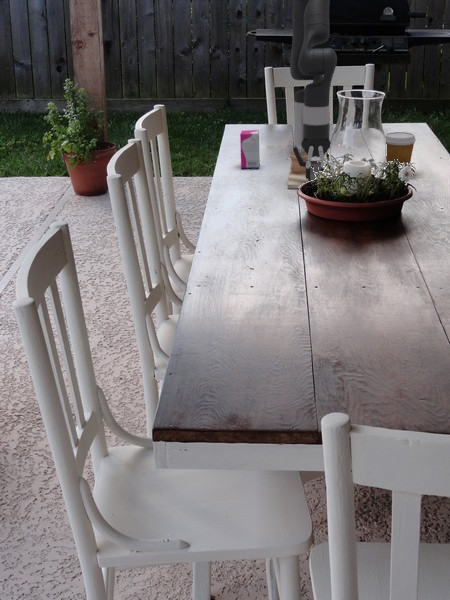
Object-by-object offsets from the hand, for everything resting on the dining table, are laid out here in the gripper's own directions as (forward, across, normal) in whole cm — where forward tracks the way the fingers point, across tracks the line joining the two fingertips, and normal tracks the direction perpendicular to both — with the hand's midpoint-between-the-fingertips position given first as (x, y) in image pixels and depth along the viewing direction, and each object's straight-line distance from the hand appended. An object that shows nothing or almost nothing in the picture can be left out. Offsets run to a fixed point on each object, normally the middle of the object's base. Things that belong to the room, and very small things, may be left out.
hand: (315, 179), depth 234 cm
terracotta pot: (+1, +5, -12) cm, 13 cm away
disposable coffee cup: (+2, -25, -14) cm, 29 cm away
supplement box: (+2, +21, -22) cm, 30 cm away
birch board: (+2, +3, -9) cm, 10 cm away
